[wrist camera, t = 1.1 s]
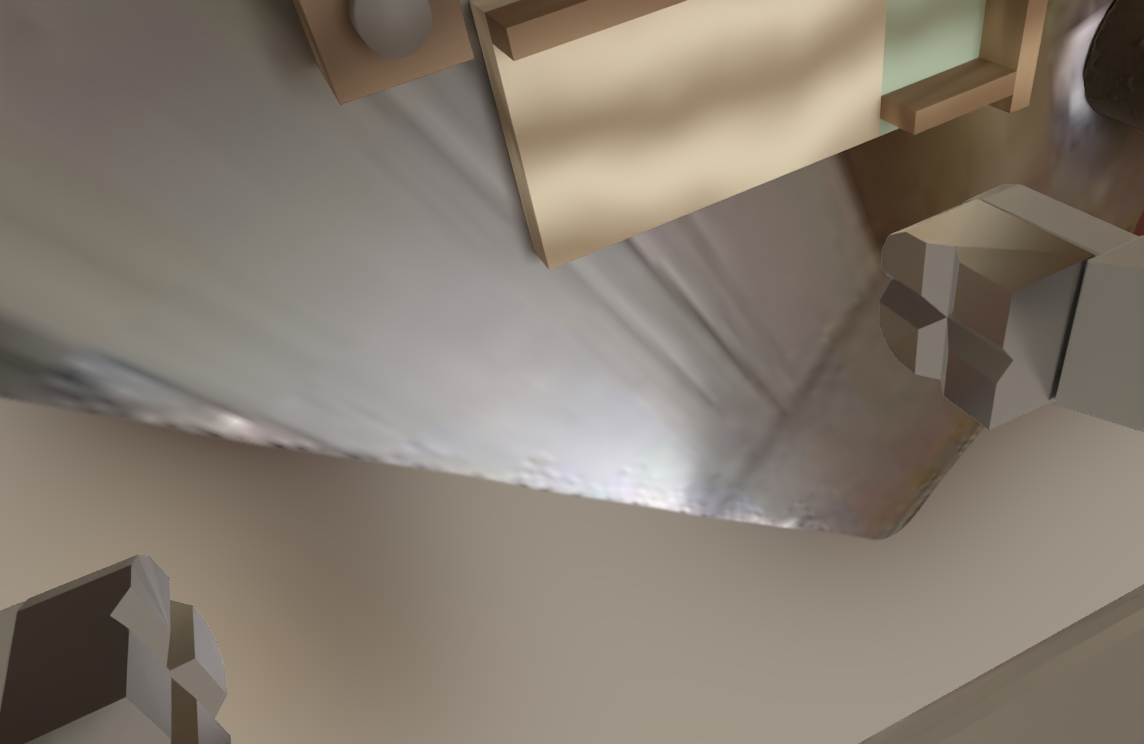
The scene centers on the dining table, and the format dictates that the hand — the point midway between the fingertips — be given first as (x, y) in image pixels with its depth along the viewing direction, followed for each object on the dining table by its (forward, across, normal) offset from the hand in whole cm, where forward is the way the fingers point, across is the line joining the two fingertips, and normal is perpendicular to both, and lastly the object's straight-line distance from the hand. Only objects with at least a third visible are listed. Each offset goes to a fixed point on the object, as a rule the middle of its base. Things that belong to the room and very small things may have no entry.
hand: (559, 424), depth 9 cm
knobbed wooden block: (+28, -3, +1) cm, 28 cm away
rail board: (+28, -20, +9) cm, 36 cm away
